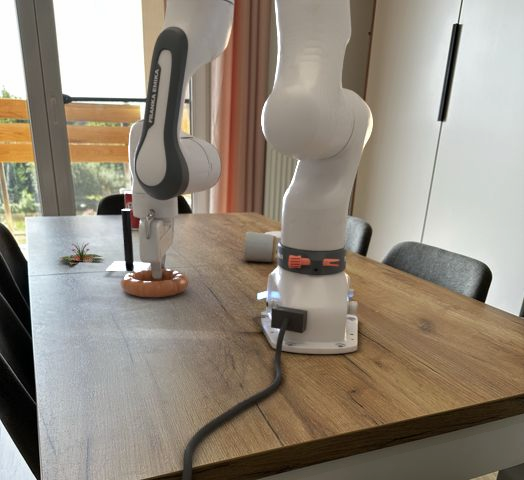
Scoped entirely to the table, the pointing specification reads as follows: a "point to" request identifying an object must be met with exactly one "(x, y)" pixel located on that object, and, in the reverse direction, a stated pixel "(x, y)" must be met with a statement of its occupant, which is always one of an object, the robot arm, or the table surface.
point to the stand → (127, 248)
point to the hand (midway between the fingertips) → (159, 275)
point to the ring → (154, 283)
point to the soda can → (129, 205)
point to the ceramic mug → (260, 247)
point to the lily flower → (81, 256)
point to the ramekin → (278, 236)
